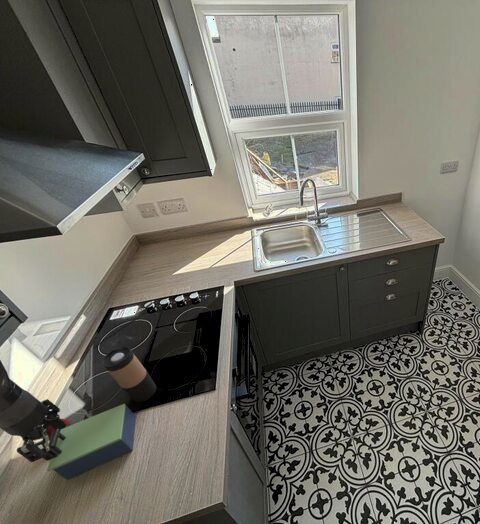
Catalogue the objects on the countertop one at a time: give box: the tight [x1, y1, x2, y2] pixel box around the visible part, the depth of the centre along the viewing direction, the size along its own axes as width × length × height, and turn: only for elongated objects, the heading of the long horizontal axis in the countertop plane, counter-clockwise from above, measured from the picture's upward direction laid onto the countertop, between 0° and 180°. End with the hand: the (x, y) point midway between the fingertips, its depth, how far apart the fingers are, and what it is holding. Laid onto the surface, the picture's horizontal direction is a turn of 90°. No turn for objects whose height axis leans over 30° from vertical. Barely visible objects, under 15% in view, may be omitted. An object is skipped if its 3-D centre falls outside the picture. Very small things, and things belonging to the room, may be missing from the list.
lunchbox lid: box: [46, 403, 127, 472], centre depth 82 cm, size 16×12×5 cm
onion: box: [47, 418, 71, 442], centre depth 89 cm, size 6×6×8 cm
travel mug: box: [101, 346, 157, 403], centre depth 96 cm, size 8×8×20 cm
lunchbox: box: [52, 405, 137, 481], centre depth 86 cm, size 16×12×7 cm
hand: (58, 442), depth 80 cm, fingers open, 8 cm apart
